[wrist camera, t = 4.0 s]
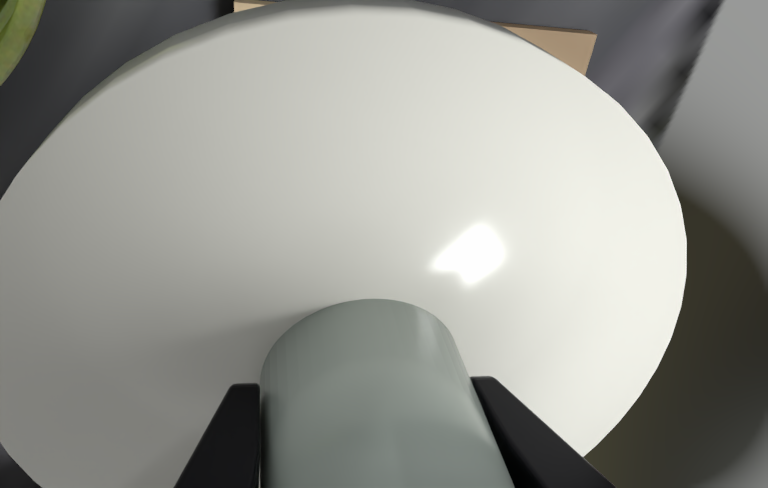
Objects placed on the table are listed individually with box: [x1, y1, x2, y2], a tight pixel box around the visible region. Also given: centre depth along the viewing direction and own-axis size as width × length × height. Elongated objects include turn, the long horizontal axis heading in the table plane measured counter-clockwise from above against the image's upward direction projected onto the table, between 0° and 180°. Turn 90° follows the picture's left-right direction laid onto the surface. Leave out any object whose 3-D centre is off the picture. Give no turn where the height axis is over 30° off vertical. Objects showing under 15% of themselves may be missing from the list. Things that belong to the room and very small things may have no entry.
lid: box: [0, 0, 687, 488], centre depth 8 cm, size 11×11×5 cm
